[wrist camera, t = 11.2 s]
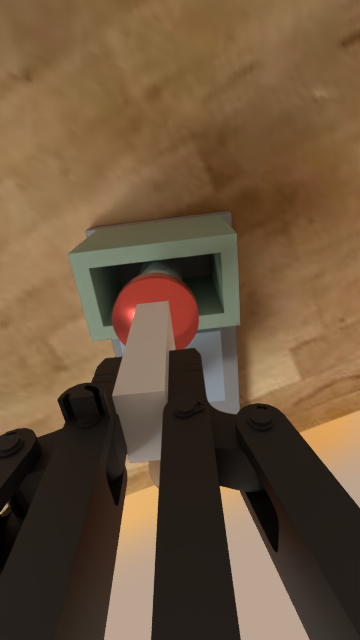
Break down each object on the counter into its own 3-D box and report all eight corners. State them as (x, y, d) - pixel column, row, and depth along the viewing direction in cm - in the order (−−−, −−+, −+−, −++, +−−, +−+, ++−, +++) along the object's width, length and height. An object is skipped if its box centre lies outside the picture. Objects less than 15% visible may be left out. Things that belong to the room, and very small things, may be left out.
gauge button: (138, 297, 25) (121, 362, 17) (128, 243, 23) (103, 285, 15) (192, 291, 25) (202, 353, 17) (187, 236, 23) (194, 274, 15)
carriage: (140, 378, 32) (116, 535, 19) (127, 316, 29) (86, 450, 15) (218, 370, 32) (252, 522, 18) (213, 307, 29) (250, 433, 15)
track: (139, 438, 38) (129, 517, 30) (89, 227, 27) (51, 255, 19) (238, 428, 38) (257, 505, 29) (228, 210, 27) (254, 231, 18)
